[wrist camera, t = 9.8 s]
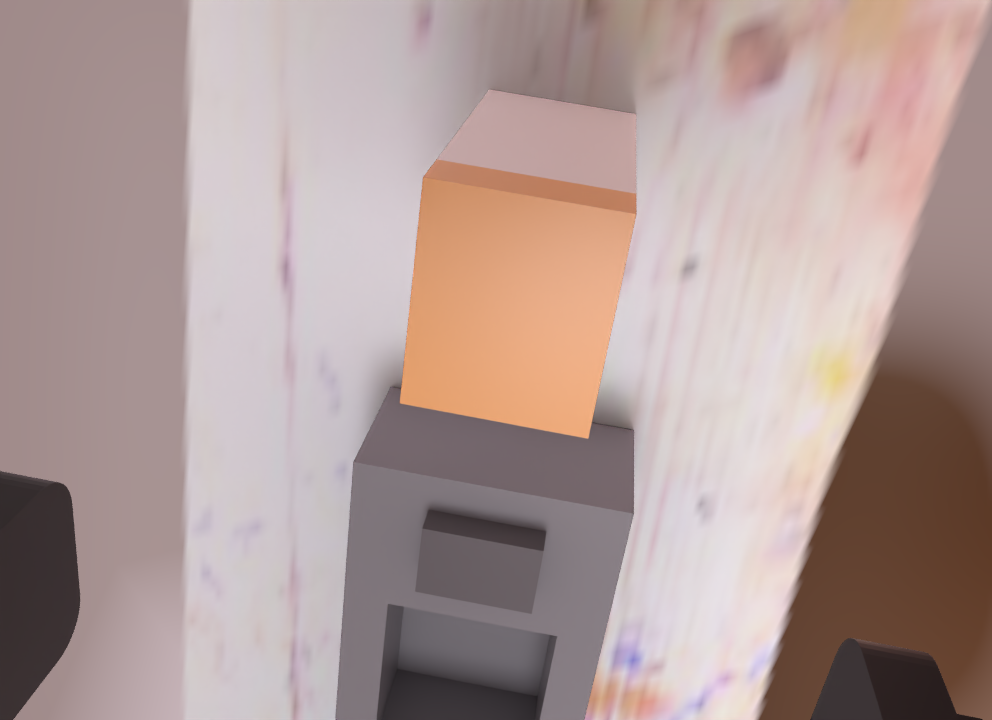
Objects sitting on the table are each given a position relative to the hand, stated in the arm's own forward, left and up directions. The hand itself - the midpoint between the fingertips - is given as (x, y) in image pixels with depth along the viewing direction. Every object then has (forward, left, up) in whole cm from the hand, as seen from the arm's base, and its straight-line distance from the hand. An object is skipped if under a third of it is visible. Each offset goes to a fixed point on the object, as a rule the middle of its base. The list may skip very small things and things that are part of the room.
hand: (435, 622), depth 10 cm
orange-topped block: (0, 0, -16) cm, 16 cm away
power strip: (-17, -4, -16) cm, 23 cm away
